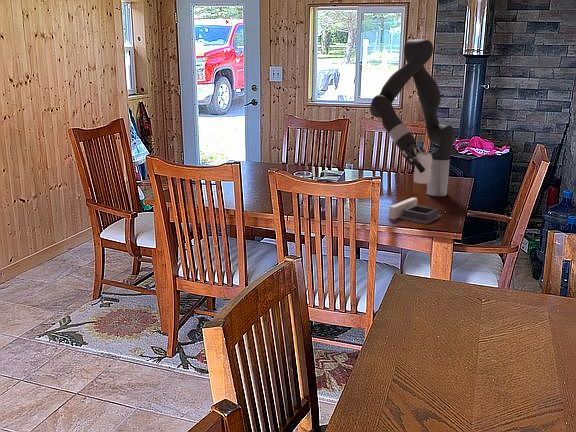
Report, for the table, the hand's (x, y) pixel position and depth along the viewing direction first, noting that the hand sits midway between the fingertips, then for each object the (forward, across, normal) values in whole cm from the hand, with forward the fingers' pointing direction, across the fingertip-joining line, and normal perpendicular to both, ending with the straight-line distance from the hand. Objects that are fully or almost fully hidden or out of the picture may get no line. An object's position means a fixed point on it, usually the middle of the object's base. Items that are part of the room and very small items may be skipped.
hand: (426, 170), depth 229 cm
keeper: (+13, 0, +15) cm, 20 cm away
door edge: (+8, 0, +20) cm, 22 cm away
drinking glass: (-13, -17, +42) cm, 47 cm away
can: (+3, 0, +5) cm, 6 cm away
